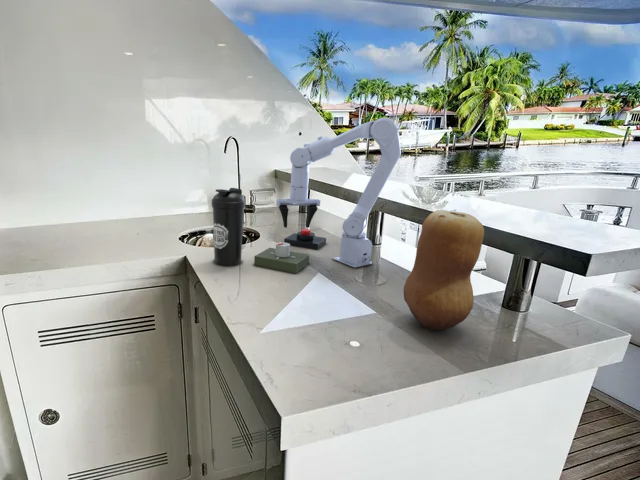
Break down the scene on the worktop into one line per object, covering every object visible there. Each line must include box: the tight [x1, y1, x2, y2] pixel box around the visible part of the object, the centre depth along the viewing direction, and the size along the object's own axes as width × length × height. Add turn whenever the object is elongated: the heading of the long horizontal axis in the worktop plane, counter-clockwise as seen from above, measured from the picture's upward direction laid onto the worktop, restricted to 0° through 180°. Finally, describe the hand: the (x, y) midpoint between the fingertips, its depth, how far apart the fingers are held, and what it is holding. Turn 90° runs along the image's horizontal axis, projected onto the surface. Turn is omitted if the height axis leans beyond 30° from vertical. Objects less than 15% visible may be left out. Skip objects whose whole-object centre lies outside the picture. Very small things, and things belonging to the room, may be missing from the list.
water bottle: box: [211, 187, 246, 267], centre depth 117 cm, size 10×10×23 cm
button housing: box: [283, 231, 327, 250], centre depth 142 cm, size 13×10×4 cm
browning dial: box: [275, 241, 291, 257], centre depth 118 cm, size 4×4×4 cm
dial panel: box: [253, 247, 310, 274], centre depth 119 cm, size 14×11×3 cm
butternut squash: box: [403, 209, 485, 331], centre depth 79 cm, size 14×13×25 cm
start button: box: [300, 228, 312, 235], centre depth 141 cm, size 4×4×2 cm
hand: (296, 227), depth 128 cm, fingers open, 7 cm apart
